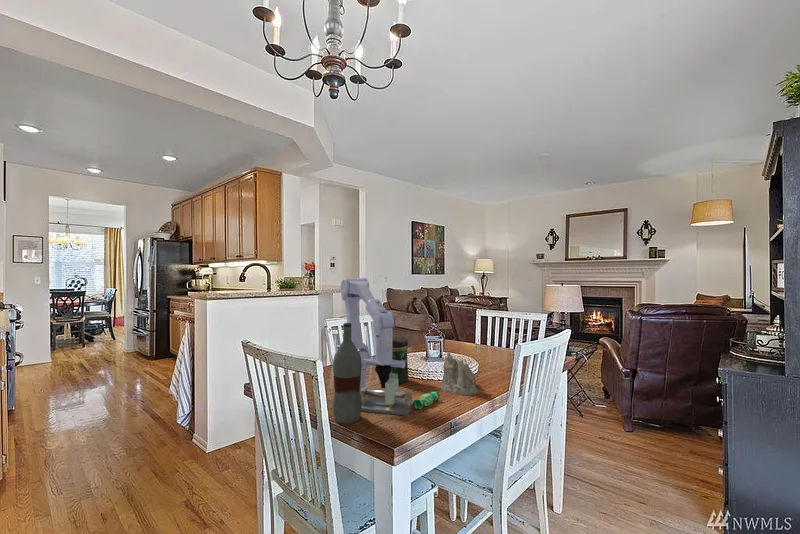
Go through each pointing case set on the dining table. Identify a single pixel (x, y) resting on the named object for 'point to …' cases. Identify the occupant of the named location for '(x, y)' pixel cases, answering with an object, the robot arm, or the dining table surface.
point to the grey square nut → (391, 391)
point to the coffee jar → (399, 354)
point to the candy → (426, 399)
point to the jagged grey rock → (458, 377)
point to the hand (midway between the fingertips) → (384, 387)
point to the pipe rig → (379, 403)
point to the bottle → (347, 380)
